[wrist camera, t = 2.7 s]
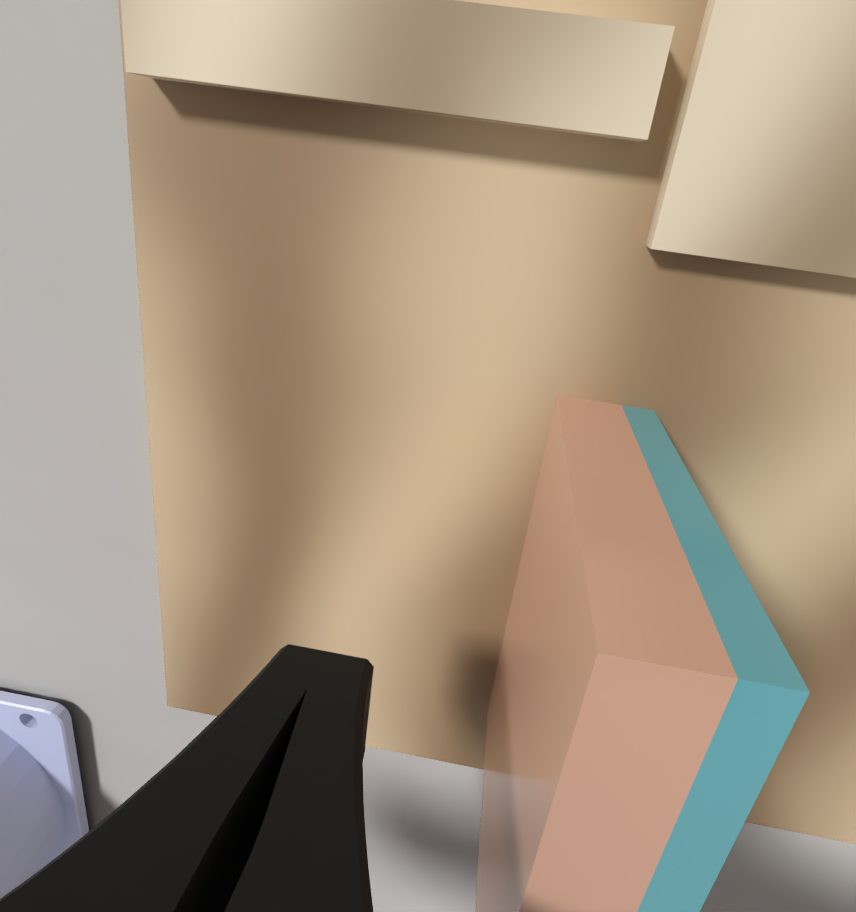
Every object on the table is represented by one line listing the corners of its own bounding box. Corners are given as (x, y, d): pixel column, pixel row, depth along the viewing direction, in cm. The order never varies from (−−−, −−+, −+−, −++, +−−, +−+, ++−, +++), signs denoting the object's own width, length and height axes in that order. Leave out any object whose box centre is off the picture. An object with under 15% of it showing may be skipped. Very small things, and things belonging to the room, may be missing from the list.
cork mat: (176, 691, 17) (167, 705, 17) (122, -207, 10) (102, -225, 9) (870, 829, 16) (880, 848, 15) (1445, -77, 8) (1498, -91, 8)
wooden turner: (157, 176, 11) (132, 176, 10) (139, -150, 9) (108, -176, 9) (1023, 298, 10) (1061, 308, 10) (1195, -39, 8) (1260, -58, 8)
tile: (487, 709, 15) (463, 1093, 9) (557, 394, 12) (597, 652, 6) (562, 724, 15) (593, 1123, 9) (654, 410, 12) (809, 692, 5)
